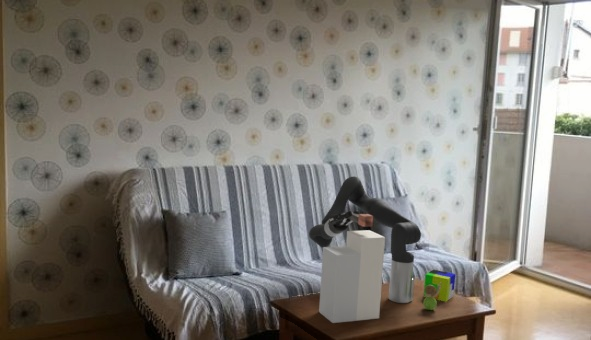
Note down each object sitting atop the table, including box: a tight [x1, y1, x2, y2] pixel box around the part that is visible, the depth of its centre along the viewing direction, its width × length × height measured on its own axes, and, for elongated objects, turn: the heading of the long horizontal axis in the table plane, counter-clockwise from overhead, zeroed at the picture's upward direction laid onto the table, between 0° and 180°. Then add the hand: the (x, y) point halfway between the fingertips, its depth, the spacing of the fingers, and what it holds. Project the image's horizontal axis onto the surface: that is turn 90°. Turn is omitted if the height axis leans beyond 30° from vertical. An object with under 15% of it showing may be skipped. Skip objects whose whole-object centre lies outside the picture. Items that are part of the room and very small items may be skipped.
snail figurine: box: [422, 282, 441, 311], centre depth 251 cm, size 5×6×12 cm
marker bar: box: [348, 211, 374, 228], centre depth 243 cm, size 4×16×4 cm, turn 23°
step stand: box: [318, 229, 386, 324], centre depth 239 cm, size 20×12×32 cm, turn 113°
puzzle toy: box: [423, 269, 456, 302], centre depth 270 cm, size 10×10×10 cm
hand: (354, 212), depth 246 cm, fingers closed on marker bar, 2 cm apart
